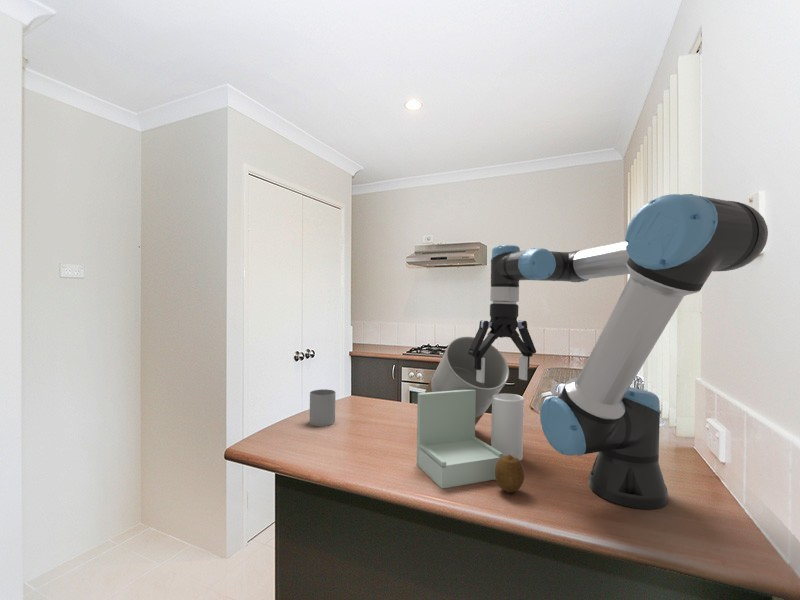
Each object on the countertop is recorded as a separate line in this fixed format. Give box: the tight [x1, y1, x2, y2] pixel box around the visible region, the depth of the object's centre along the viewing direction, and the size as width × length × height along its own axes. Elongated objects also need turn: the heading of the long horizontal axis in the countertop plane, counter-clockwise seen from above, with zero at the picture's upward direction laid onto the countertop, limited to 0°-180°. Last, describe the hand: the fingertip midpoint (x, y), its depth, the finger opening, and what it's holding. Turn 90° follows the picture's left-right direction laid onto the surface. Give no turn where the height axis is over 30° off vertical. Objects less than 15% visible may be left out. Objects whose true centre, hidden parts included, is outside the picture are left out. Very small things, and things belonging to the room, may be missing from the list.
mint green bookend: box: [416, 389, 503, 489], centre depth 101 cm, size 14×16×18 cm
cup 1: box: [309, 388, 337, 427], centre depth 138 cm, size 8×8×10 cm
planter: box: [424, 336, 510, 426], centre depth 125 cm, size 19×19×26 cm
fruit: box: [495, 455, 525, 493], centre depth 90 cm, size 6×6×8 cm
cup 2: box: [490, 392, 525, 462], centre depth 111 cm, size 8×8×16 cm
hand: (502, 381), depth 112 cm, fingers open, 13 cm apart
